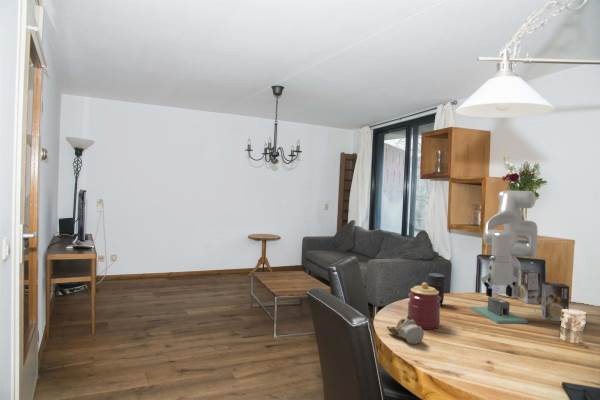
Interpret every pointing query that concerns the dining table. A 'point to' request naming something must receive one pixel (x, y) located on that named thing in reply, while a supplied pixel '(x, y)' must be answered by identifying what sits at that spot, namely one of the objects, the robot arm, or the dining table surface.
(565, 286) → the coffee box
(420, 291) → the canister
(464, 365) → the dining table surface
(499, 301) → the block
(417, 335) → the ceramic sculpture
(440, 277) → the camera lens
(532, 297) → the coffee box
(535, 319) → the dining table surface
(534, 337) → the dining table surface
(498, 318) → the header board
